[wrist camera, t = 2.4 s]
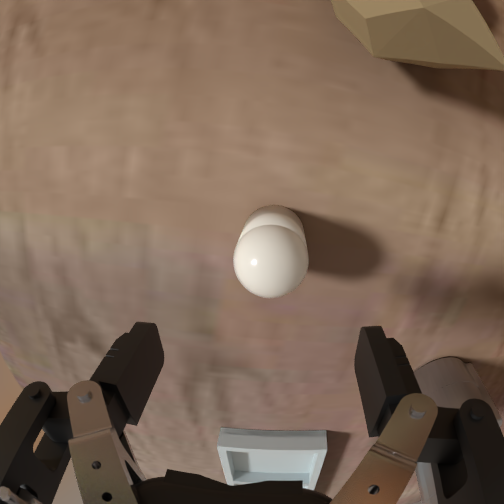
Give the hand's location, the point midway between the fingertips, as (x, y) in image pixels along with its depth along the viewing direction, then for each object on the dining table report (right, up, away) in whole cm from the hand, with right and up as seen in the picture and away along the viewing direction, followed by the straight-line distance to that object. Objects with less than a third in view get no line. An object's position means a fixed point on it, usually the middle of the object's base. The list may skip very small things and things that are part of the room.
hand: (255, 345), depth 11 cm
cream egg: (+2, +5, +12) cm, 13 cm away
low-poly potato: (+10, +22, +4) cm, 25 cm away
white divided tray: (+3, -34, +28) cm, 44 cm away
